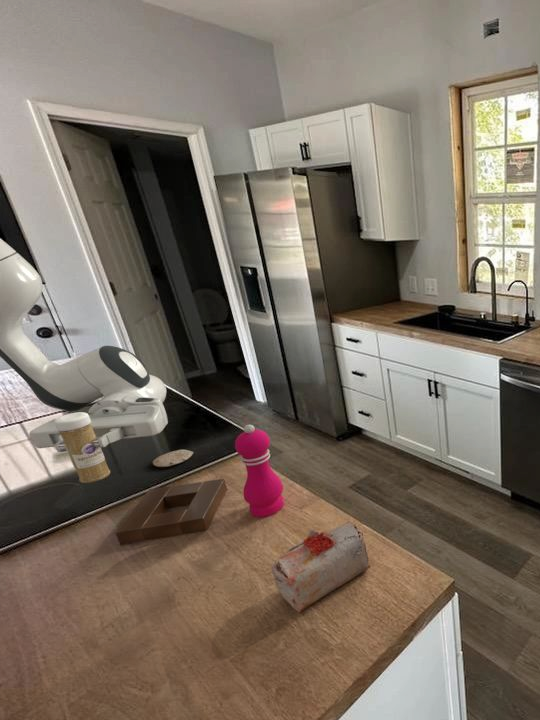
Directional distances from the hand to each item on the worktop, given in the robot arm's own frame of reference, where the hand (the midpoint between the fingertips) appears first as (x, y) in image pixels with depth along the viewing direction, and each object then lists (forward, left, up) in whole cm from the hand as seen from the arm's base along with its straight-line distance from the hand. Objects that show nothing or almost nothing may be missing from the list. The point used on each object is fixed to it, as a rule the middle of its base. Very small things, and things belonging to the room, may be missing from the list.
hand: (79, 446), depth 78 cm
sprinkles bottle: (-1, +1, -8) cm, 8 cm away
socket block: (+11, +7, -17) cm, 21 cm away
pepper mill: (+25, +17, -17) cm, 35 cm away
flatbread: (-13, +18, -17) cm, 28 cm away
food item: (+52, +9, -17) cm, 56 cm away
